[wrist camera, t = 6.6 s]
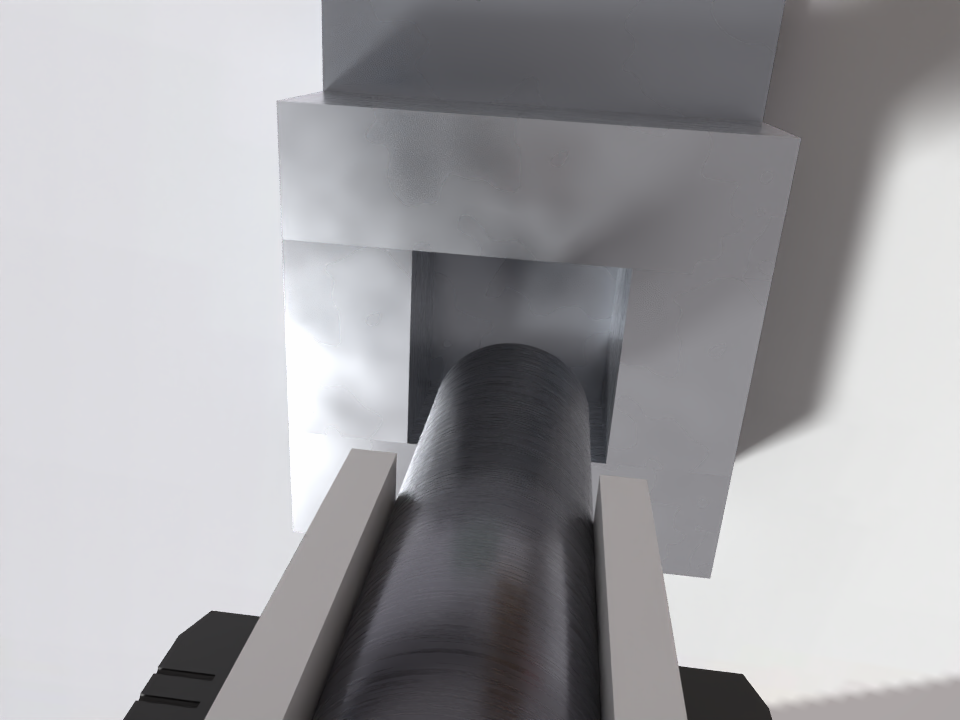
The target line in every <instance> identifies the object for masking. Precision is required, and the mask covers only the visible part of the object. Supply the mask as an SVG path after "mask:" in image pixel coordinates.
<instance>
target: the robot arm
mask: <svg viewBox="0 0 960 720" xmlns="http://www.w3.org/2000/svg"><path fill="white" fill-rule="evenodd" d="M396 464H397V453H391V452H382V451H373V450H363V449H354V448H352V449H351V451H350V453H349V454H348V456H347V458H346V460H345V462H344V464H343V465H342V467H341V469H340V471H339V473H338V475H337V476H336V478H335V480H334V482H333V484H332V486H331V487H330V489H329V491H328V493H327V495H326V497H325V498H324V500H323V502H322V504H321V506H320V508H319V510H318V511H317V513H316V515H315V517H314V519H313V521H312V522H311V524H310V526H309V528H308V530H307V532H306V533H305V535H304V537H303V539H302V541H301V543H300V544H299V546H298V548H297V550H296V552H295V554H294V555H293V557H292V559H291V561H290V563H289V565H288V567H287V568H286V570H285V572H284V574H283V576H282V578H281V579H280V581H279V583H278V585H277V587H276V589H275V590H274V592H273V594H272V596H271V598H270V600H269V601H268V603H267V605H266V607H265V609H264V611H263V613H262V614H261V616H260V617H259V616H250V615H242V614H234V613H226V612H218V611H211V612H209V613H208V614H207V615H205V616H204V617H203V618H201V619H200V620H199V621H197V622H196V623H195V624H194V625H192V626H191V627H190V628H188V629H187V630H186V631H184V632H183V633H182V634H180V635H179V636H178V638H177V639H176V641H175V642H174V644H173V645H172V647H171V648H170V650H169V651H168V653H167V654H166V656H165V657H164V659H163V660H162V662H161V663H160V665H159V666H158V671H157V673H156V674H153V675H152V677H151V678H150V680H149V682H148V683H147V685H146V686H145V688H144V689H143V691H142V692H141V694H140V699H139V701H135V703H134V704H133V706H132V707H131V709H130V710H129V712H128V713H127V715H126V716H125V718H124V719H123V720H311V719H312V717H313V714H314V712H315V709H316V706H317V704H318V701H319V699H320V696H321V693H322V691H323V688H324V686H325V683H326V680H327V678H328V675H329V673H330V670H331V667H332V665H333V662H334V660H335V657H336V655H337V652H338V649H339V647H340V644H341V642H342V639H343V636H344V634H345V631H346V629H347V626H348V623H349V621H350V618H351V616H352V613H353V610H354V608H355V605H356V603H357V600H358V598H359V595H360V592H361V590H362V587H363V585H364V582H365V579H366V577H367V574H368V572H369V569H370V566H371V564H372V561H373V559H374V556H375V553H376V551H377V548H378V546H379V543H380V541H381V538H382V535H383V533H384V530H385V528H386V525H387V522H388V520H389V517H390V515H391V512H392V509H393V507H394V504H395V502H396ZM593 532H594V557H595V581H596V605H597V629H598V653H599V677H600V701H601V720H772V717H771V714H770V711H769V708H768V707H767V705H766V704H765V703H764V701H763V700H762V699H761V697H760V696H759V695H758V693H757V692H756V691H755V690H754V688H753V687H752V686H751V684H750V683H749V682H748V680H747V679H746V678H745V676H744V675H743V674H737V673H729V672H721V671H713V670H705V669H697V668H689V667H681V666H678V661H677V655H676V649H675V643H674V637H673V631H672V625H671V619H670V613H669V607H668V601H667V595H666V589H665V583H664V577H663V572H662V566H661V560H660V554H659V548H658V542H657V536H656V530H655V524H654V518H653V512H652V506H651V500H650V494H649V488H648V482H647V480H646V479H636V478H627V477H617V476H608V475H600V477H599V485H598V492H597V499H596V507H595V514H594V522H593Z"/></svg>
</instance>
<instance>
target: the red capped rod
mask: <svg viewBox="0 0 960 720" xmlns="http://www.w3.org/2000/svg"><path fill="white" fill-rule="evenodd" d="M593 522H594V521H593V498H592V474H591V451H590V427H589V409H588V402H587V398H586V395H585V392H584V390H583V387H582V385H581V384H580V382H579V380H578V378H577V377H576V376H575V374H574V373H573V372H572V370H571V369H570V368H569V367H568V366H567V365H565V364H564V363H563V362H562V361H561V360H559V359H558V358H557V357H555V356H553V355H552V354H550V353H548V352H546V351H544V350H541V349H539V348H536V347H533V346H529V345H524V344H518V343H502V344H494V345H490V346H486V347H483V348H480V349H477V350H475V351H473V352H471V353H469V354H468V355H466V356H465V357H463V358H462V359H460V360H459V361H458V362H457V363H456V364H455V365H454V366H453V367H452V368H451V369H450V370H449V372H448V373H447V374H446V376H445V378H444V379H443V381H442V383H441V385H440V388H439V390H438V393H437V395H436V398H435V401H434V403H433V406H432V408H431V411H430V414H429V416H428V419H427V421H426V424H425V427H424V429H423V432H422V434H421V437H420V439H419V442H418V445H417V447H416V450H415V452H414V455H413V458H412V460H411V463H410V465H409V468H408V471H407V473H406V476H405V478H404V481H403V484H402V486H401V489H400V491H399V494H398V496H397V499H396V502H395V504H394V507H393V509H392V512H391V515H390V517H389V520H388V522H387V525H386V528H385V530H384V533H383V535H382V538H381V541H380V543H379V546H378V548H377V551H376V553H375V556H374V559H373V561H372V564H371V566H370V569H369V572H368V574H367V577H366V579H365V582H364V585H363V587H362V590H361V592H360V595H359V598H358V600H357V603H356V605H355V608H354V610H353V613H352V616H351V618H350V621H349V623H348V626H347V629H346V631H345V634H344V636H343V639H342V642H341V644H340V647H339V649H338V652H337V655H336V657H335V660H334V662H333V665H332V667H331V670H330V673H329V675H328V678H327V680H326V683H325V686H324V688H323V691H322V693H321V696H320V699H319V701H318V704H317V706H316V709H315V712H314V714H313V717H312V719H311V720H601V701H600V677H599V653H598V629H597V605H596V581H595V557H594V532H593Z"/></svg>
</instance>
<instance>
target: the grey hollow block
mask: <svg viewBox="0 0 960 720" xmlns="http://www.w3.org/2000/svg"><path fill="white" fill-rule="evenodd" d="M784 6H785V0H322V48H323V91H322V92H317V93H312V94H308V95H303V96H298V97H293V98H288V99H284V100H279V101H277V123H278V149H279V176H280V202H281V228H282V255H283V281H284V308H285V334H286V360H287V387H288V413H289V439H290V466H291V492H292V519H293V532H299V533H306V532H307V530H308V528H309V526H310V524H311V522H312V521H313V519H314V517H315V515H316V513H317V511H318V510H319V508H320V506H321V504H322V502H323V500H324V498H325V497H326V495H327V493H328V491H329V489H330V487H331V486H332V484H333V482H334V480H335V478H336V476H337V475H338V473H339V471H340V469H341V467H342V465H343V464H344V462H345V460H346V458H347V456H348V454H349V453H350V451H351V449H352V448H354V449H363V450H373V451H382V452H391V453H397V464H396V499H397V496H398V494H399V491H400V489H401V486H402V484H403V481H404V478H405V476H406V473H407V471H408V468H409V465H410V463H411V460H412V458H413V455H414V452H415V450H416V447H417V445H418V442H419V439H420V437H421V434H422V432H423V429H424V427H425V424H426V421H427V419H428V416H429V414H430V411H431V408H432V406H433V403H434V401H435V398H436V395H437V393H438V390H439V388H440V385H441V383H442V381H443V379H444V378H445V376H446V374H447V373H448V372H449V370H450V369H451V368H452V367H453V366H454V365H455V364H456V363H457V362H458V361H459V360H460V359H462V358H463V357H465V356H466V355H468V354H469V353H471V352H473V351H475V350H477V349H480V348H483V347H486V346H490V345H494V344H502V343H518V344H524V345H529V346H533V347H536V348H539V349H541V350H544V351H546V352H548V353H550V354H552V355H553V356H555V357H557V358H558V359H559V360H561V361H562V362H563V363H564V364H565V365H567V366H568V367H569V368H570V369H571V370H572V372H573V373H574V374H575V376H576V377H577V378H578V380H579V382H580V384H581V385H582V387H583V390H584V392H585V395H586V398H587V402H588V409H589V427H590V451H591V474H592V498H593V521H594V514H595V507H596V499H597V492H598V485H599V477H600V475H608V476H617V477H627V478H636V479H646V480H647V482H648V488H649V494H650V500H651V506H652V512H653V518H654V524H655V530H656V536H657V542H658V548H659V554H660V560H661V566H662V572H663V573H666V574H675V575H684V576H692V577H701V578H710V576H711V572H712V567H713V562H714V557H715V552H716V547H717V543H718V538H719V533H720V528H721V523H722V519H723V514H724V509H725V504H726V499H727V494H728V490H729V485H730V480H731V475H732V470H733V466H734V461H735V456H736V451H737V446H738V441H739V437H740V432H741V427H742V422H743V417H744V412H745V408H746V403H747V398H748V393H749V388H750V384H751V379H752V374H753V369H754V364H755V359H756V355H757V350H758V345H759V340H760V335H761V331H762V326H763V321H764V316H765V311H766V306H767V302H768V297H769V292H770V287H771V282H772V277H773V273H774V268H775V263H776V258H777V253H778V249H779V244H780V239H781V234H782V229H783V224H784V220H785V215H786V210H787V205H788V200H789V195H790V191H791V186H792V181H793V176H794V171H795V167H796V162H797V157H798V152H799V147H800V142H801V138H800V137H797V136H795V135H793V134H790V133H788V132H786V131H783V130H781V129H778V128H776V127H774V126H771V125H769V124H767V123H764V122H763V117H764V112H765V107H766V101H767V96H768V91H769V85H770V80H771V75H772V69H773V64H774V59H775V53H776V48H777V43H778V38H779V32H780V27H781V22H782V16H783V11H784Z"/></svg>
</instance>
